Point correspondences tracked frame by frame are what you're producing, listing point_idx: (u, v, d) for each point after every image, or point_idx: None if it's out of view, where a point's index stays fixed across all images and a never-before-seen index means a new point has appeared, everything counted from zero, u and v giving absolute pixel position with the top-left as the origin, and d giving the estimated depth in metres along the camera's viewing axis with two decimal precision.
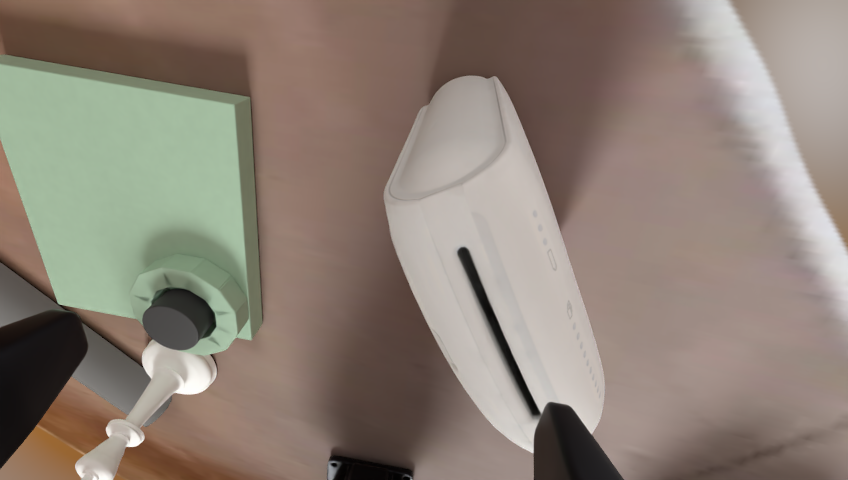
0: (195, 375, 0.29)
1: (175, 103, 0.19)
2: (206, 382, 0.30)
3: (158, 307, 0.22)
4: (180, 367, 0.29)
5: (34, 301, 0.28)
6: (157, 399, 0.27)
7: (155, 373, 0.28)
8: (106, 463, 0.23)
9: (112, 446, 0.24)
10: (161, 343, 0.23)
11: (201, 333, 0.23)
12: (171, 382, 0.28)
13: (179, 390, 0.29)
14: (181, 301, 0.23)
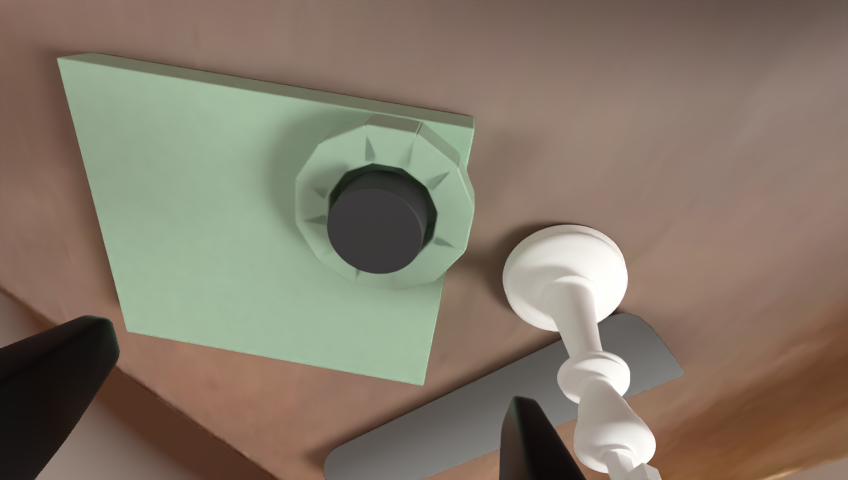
0: (573, 257, 0.17)
1: (87, 139, 0.16)
2: (596, 245, 0.17)
3: (329, 236, 0.14)
4: (549, 274, 0.17)
5: (437, 411, 0.22)
6: (572, 316, 0.15)
7: (548, 312, 0.17)
8: (595, 419, 0.11)
9: (585, 401, 0.12)
10: (409, 258, 0.14)
11: (387, 186, 0.13)
12: (563, 293, 0.16)
13: (594, 289, 0.16)
14: None
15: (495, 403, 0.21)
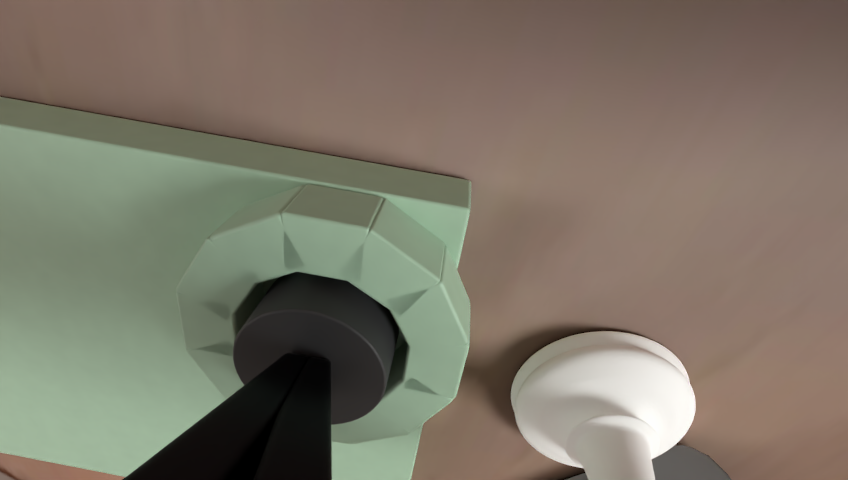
0: (618, 384, 0.11)
1: None
2: (653, 367, 0.11)
3: (238, 373, 0.09)
4: (581, 406, 0.11)
5: None
6: None
7: (580, 460, 0.12)
8: None
9: None
10: (366, 407, 0.09)
11: (326, 304, 0.08)
12: (605, 444, 0.11)
13: (651, 434, 0.11)
14: None
15: None
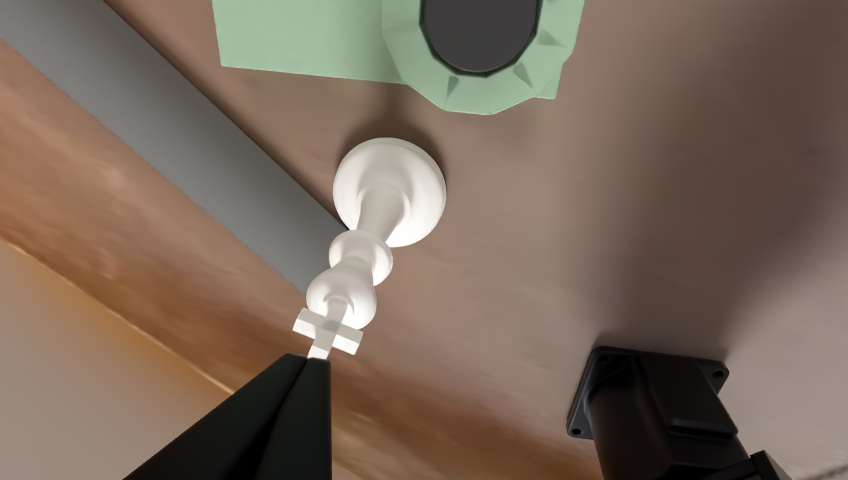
0: (423, 201, 0.18)
1: None
2: (436, 216, 0.19)
3: None
4: (404, 184, 0.18)
5: (172, 83, 0.17)
6: (388, 220, 0.16)
7: (368, 193, 0.17)
8: (366, 283, 0.12)
9: (361, 265, 0.13)
10: (450, 57, 0.12)
11: None
12: (397, 204, 0.17)
13: (400, 226, 0.18)
14: None
15: (223, 154, 0.18)
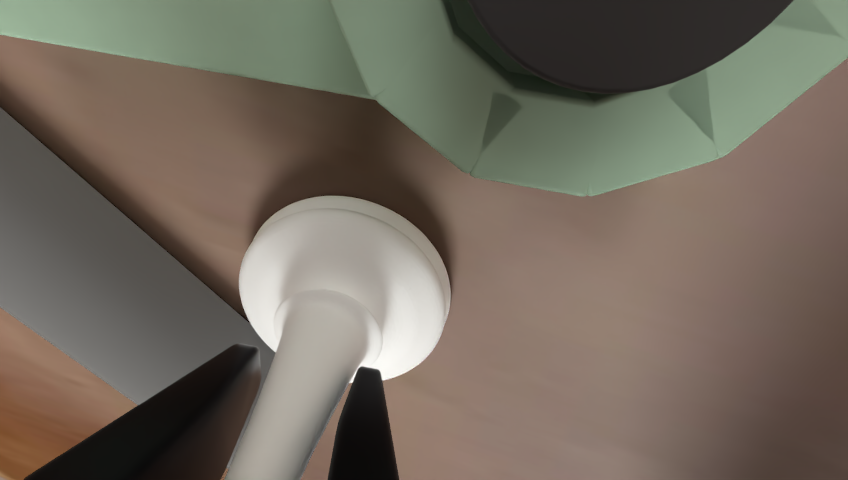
0: (407, 322, 0.09)
1: None
2: (429, 345, 0.10)
3: None
4: (371, 294, 0.09)
5: None
6: (327, 392, 0.07)
7: (296, 310, 0.09)
8: None
9: None
10: (520, 41, 0.04)
11: None
12: (352, 339, 0.08)
13: None
14: None
15: (12, 211, 0.09)
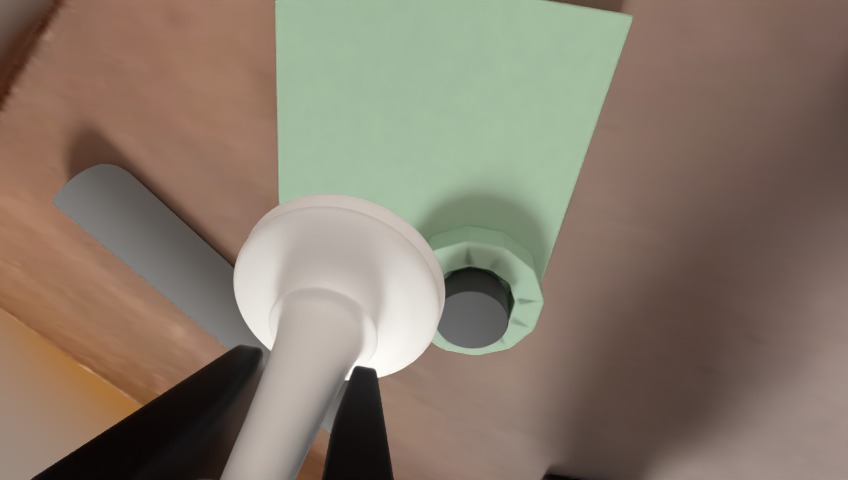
0: (402, 319, 0.10)
1: (548, 15, 0.14)
2: (424, 342, 0.10)
3: (468, 292, 0.17)
4: (365, 291, 0.09)
5: None
6: (323, 390, 0.07)
7: (291, 308, 0.09)
8: None
9: None
10: (449, 339, 0.18)
11: None
12: (348, 337, 0.08)
13: (354, 365, 0.09)
14: (488, 285, 0.18)
15: None
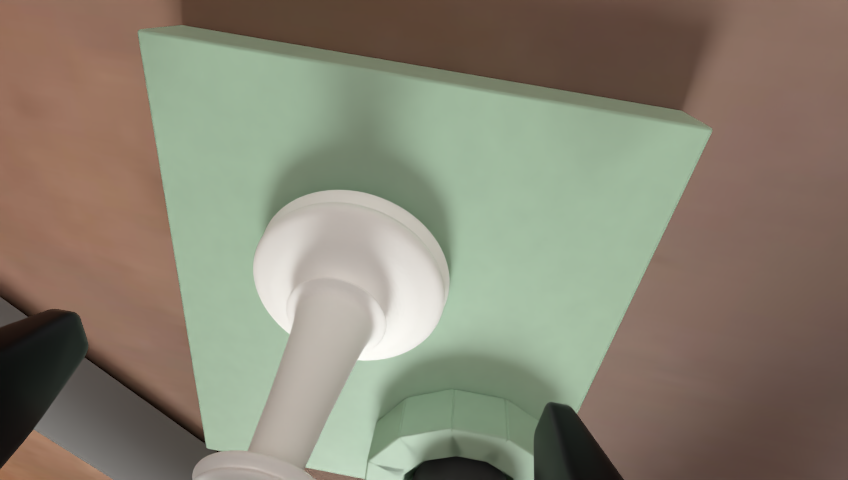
0: (409, 307, 0.10)
1: (574, 126, 0.09)
2: (429, 327, 0.11)
3: None
4: (375, 281, 0.10)
5: (157, 432, 0.17)
6: (336, 372, 0.08)
7: (307, 296, 0.09)
8: None
9: None
10: None
11: None
12: (358, 323, 0.09)
13: (365, 348, 0.10)
14: None
15: None
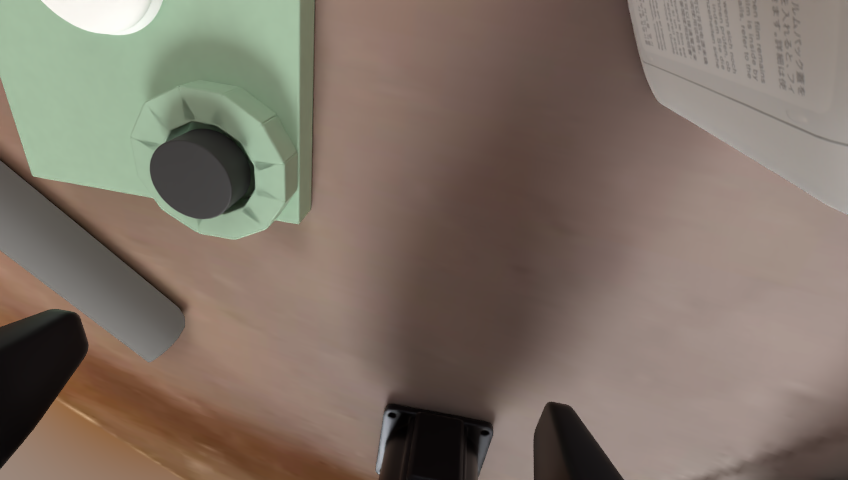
0: None
1: None
2: None
3: (174, 142, 0.15)
4: None
5: (2, 180, 0.21)
6: None
7: None
8: None
9: None
10: (177, 208, 0.16)
11: (235, 191, 0.16)
12: None
13: None
14: (207, 139, 0.15)
15: (47, 239, 0.21)
